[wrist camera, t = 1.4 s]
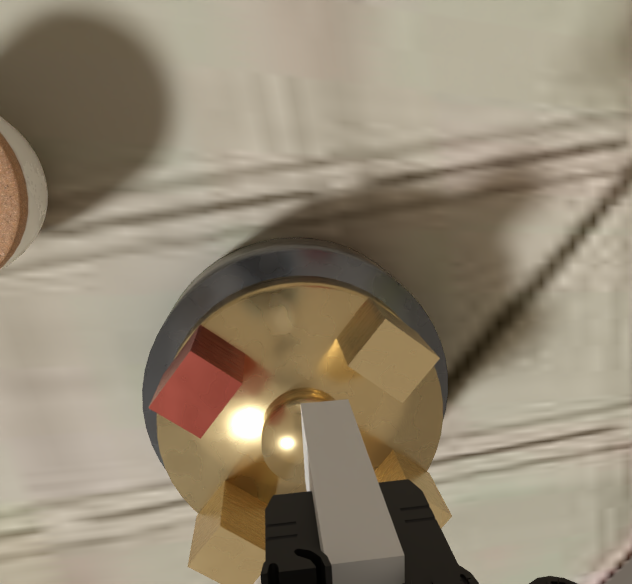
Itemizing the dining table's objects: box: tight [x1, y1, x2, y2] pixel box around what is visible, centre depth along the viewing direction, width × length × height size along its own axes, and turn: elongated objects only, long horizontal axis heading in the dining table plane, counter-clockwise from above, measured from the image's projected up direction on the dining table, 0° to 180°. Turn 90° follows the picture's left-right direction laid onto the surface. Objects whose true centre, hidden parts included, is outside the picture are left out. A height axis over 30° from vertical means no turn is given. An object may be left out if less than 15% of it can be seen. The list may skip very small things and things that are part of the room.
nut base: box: [142, 238, 448, 468], centre depth 36 cm, size 20×20×5 cm
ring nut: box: [148, 275, 452, 584], centre depth 30 cm, size 17×17×7 cm
